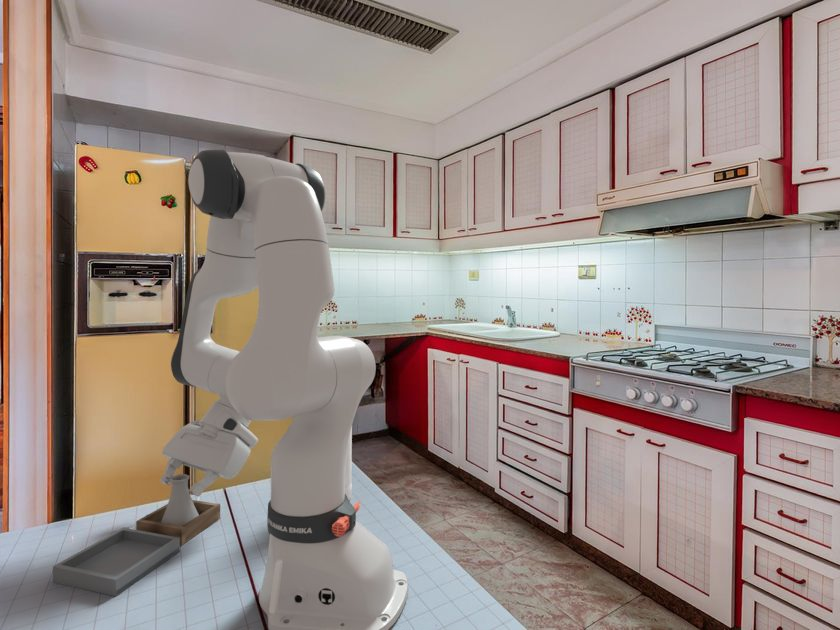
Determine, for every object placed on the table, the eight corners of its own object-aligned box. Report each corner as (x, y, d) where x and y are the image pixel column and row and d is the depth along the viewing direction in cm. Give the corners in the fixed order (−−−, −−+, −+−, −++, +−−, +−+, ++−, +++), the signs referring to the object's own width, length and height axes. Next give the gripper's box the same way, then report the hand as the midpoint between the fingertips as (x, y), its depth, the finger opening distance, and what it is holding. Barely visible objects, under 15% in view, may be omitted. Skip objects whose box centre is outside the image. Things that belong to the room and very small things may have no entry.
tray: (179, 551, 79) (179, 537, 79) (116, 596, 67) (115, 580, 67) (123, 540, 83) (123, 527, 82) (53, 582, 71) (52, 566, 70)
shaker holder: (220, 518, 91) (220, 504, 91) (181, 545, 81) (181, 529, 81) (178, 512, 94) (178, 497, 94) (136, 537, 84) (136, 521, 84)
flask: (183, 539, 83) (182, 486, 83) (149, 535, 85) (148, 482, 84) (208, 520, 90) (208, 471, 90) (177, 516, 92) (177, 468, 91)
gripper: (182, 411, 98) (136, 470, 90) (246, 426, 88) (200, 493, 80) (201, 426, 102) (158, 484, 94) (264, 442, 92) (222, 508, 84)
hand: (178, 488), depth 87 cm, fingers open, 8 cm apart
